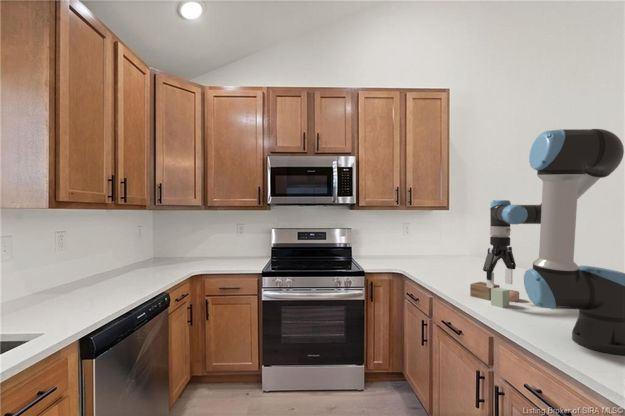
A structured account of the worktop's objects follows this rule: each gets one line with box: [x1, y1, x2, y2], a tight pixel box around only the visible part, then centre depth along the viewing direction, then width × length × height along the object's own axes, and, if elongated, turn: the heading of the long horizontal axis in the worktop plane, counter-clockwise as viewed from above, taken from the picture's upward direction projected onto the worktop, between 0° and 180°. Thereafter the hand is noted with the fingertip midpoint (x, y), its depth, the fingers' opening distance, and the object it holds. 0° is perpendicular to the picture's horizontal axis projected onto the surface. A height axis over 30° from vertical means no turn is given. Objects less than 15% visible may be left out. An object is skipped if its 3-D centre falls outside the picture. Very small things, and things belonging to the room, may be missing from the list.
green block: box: [490, 287, 510, 309], centre depth 143 cm, size 5×5×7 cm
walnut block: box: [469, 281, 501, 301], centre depth 158 cm, size 9×9×6 cm
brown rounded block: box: [508, 289, 520, 303], centre depth 152 cm, size 7×7×4 cm
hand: (499, 285), depth 144 cm, fingers open, 13 cm apart
